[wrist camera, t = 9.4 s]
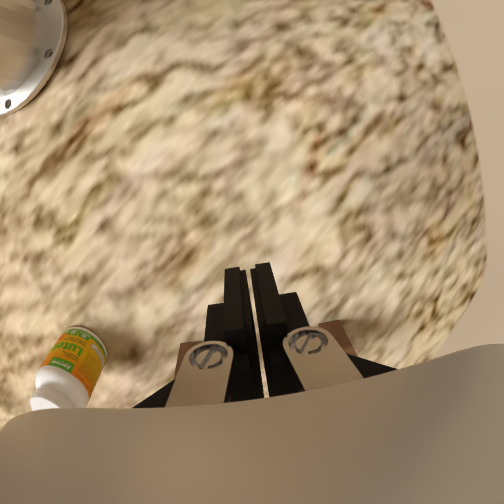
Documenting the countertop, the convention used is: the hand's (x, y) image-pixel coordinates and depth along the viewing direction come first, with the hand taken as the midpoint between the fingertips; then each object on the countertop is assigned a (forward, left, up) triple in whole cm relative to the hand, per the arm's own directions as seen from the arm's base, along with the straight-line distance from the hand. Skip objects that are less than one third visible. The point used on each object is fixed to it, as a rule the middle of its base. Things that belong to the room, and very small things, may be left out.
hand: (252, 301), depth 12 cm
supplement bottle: (+11, -18, -14) cm, 25 cm away
